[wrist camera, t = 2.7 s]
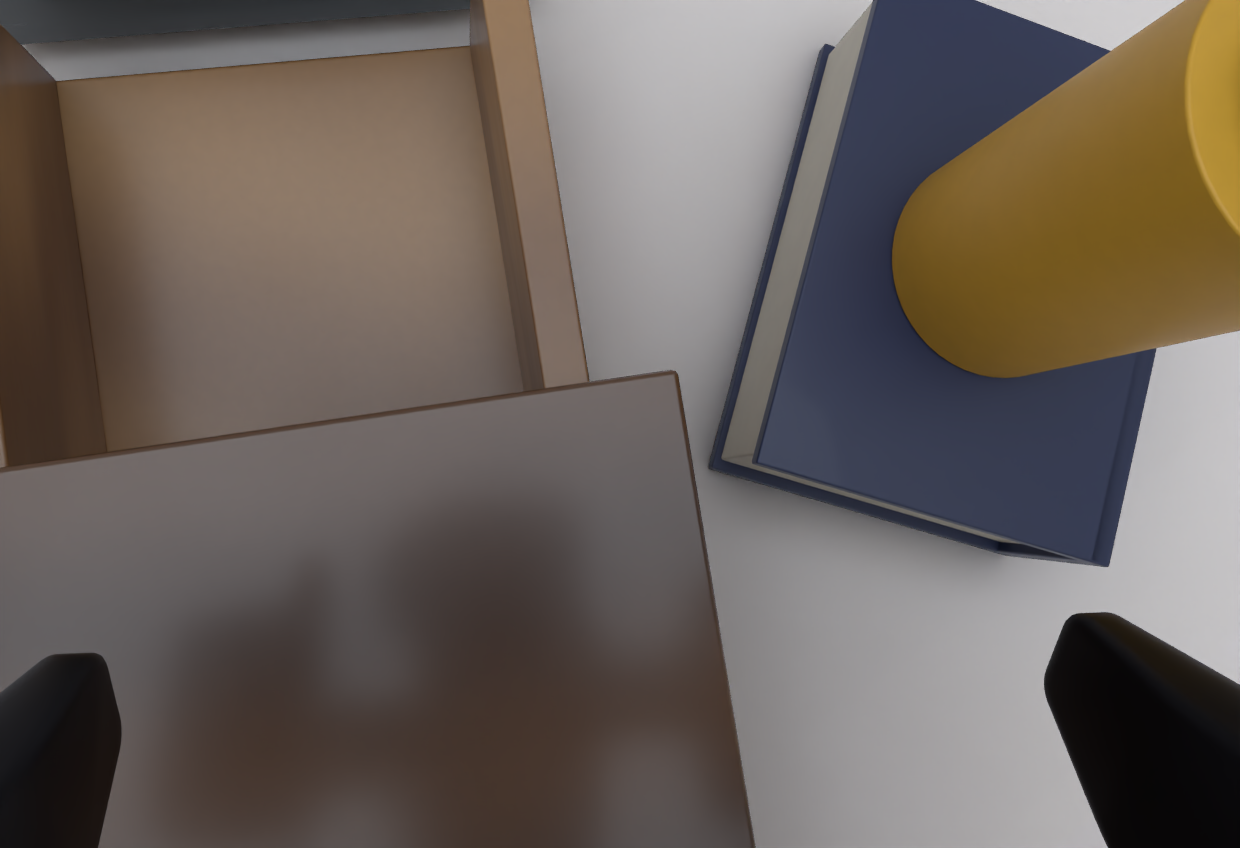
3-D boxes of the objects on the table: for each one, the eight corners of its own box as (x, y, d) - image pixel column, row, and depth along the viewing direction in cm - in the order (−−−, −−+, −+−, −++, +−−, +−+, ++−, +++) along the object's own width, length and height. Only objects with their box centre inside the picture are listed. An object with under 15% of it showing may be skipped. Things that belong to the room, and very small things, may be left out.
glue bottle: (1139, 246, 21) (1771, 15, 11) (1026, 424, 21) (1589, 353, 10) (969, 110, 21) (1460, -264, 11) (847, 286, 20) (1247, 69, 10)
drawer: (-40, -200, 21) (-226, -457, 15) (488, -222, 23) (496, -458, 17) (78, 671, 20) (-73, 741, 15) (616, 574, 22) (668, 602, 16)
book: (1006, 556, 25) (1109, 567, 21) (707, 468, 24) (756, 462, 20) (1100, 150, 26) (1214, 88, 22) (819, 49, 25) (886, -34, 21)
